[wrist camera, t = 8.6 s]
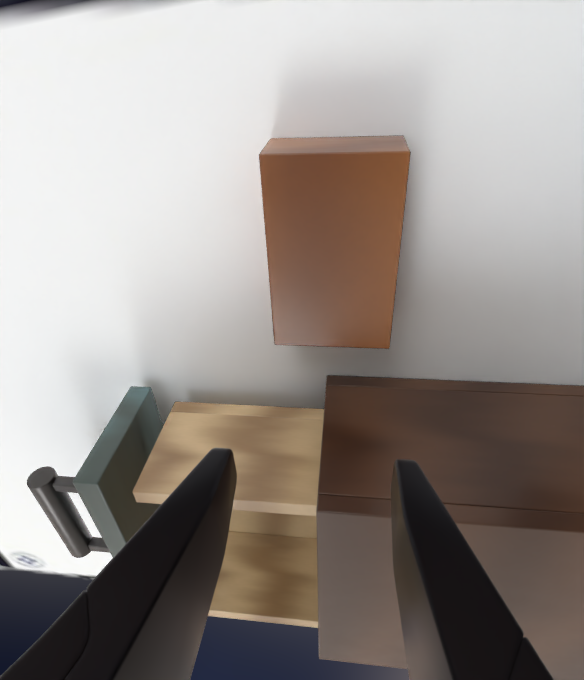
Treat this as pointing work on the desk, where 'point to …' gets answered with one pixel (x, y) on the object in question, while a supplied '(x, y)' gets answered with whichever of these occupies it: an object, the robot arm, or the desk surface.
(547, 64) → the desk surface
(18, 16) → the desk surface
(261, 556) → the drawer
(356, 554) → the cabinet
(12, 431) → the desk surface
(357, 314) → the brown rectangular box
